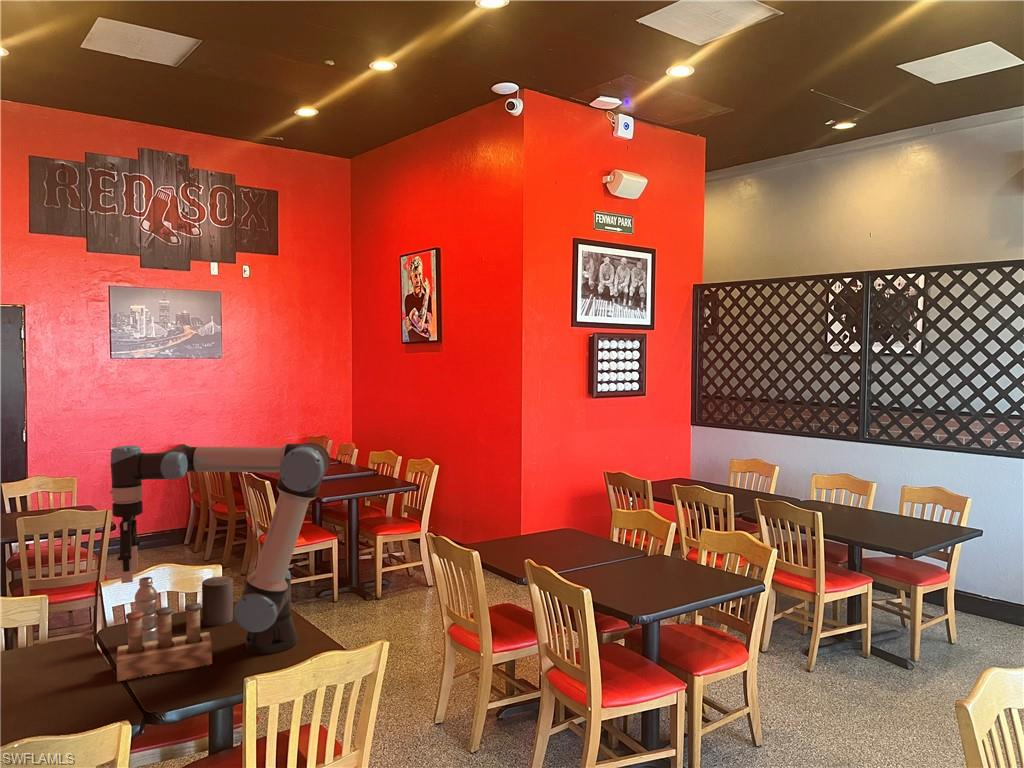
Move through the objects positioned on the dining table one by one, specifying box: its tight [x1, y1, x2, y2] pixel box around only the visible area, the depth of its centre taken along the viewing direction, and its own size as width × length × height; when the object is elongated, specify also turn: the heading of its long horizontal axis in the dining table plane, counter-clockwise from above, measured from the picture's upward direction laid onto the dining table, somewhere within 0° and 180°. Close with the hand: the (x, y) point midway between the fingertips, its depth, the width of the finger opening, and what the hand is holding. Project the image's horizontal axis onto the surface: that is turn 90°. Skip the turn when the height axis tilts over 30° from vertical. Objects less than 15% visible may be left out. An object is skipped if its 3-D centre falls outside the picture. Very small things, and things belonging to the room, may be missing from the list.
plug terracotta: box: [125, 610, 143, 654], centre depth 204 cm, size 4×4×11 cm
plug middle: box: [156, 606, 174, 649], centre depth 207 cm, size 4×4×11 cm
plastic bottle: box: [134, 576, 158, 642], centre depth 224 cm, size 6×7×20 cm
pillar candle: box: [201, 575, 234, 627], centre depth 242 cm, size 10×10×15 cm
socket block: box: [116, 631, 213, 682], centre depth 207 cm, size 24×10×6 cm, turn 117°
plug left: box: [184, 602, 202, 644], centre depth 210 cm, size 4×4×11 cm
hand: (130, 575), depth 205 cm, fingers open, 13 cm apart
